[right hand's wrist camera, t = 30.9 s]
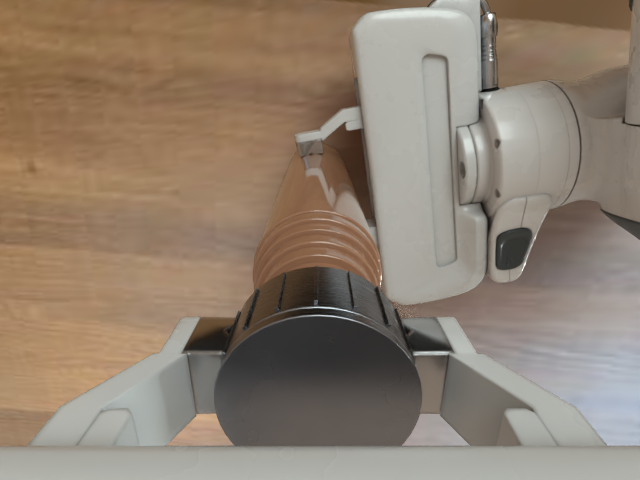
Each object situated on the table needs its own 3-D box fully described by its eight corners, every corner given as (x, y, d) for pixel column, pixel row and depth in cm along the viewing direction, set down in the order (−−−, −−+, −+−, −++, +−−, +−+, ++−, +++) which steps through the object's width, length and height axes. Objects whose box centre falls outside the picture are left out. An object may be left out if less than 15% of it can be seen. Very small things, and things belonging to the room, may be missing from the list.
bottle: (343, 198, 33) (410, 454, 10) (289, 197, 33) (223, 453, 10) (345, 142, 32) (433, 289, 8) (288, 142, 32) (204, 287, 8)
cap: (427, 287, 10) (458, 341, 7) (373, 419, 11) (386, 495, 9) (252, 244, 9) (232, 289, 7) (221, 388, 11) (197, 460, 9)
